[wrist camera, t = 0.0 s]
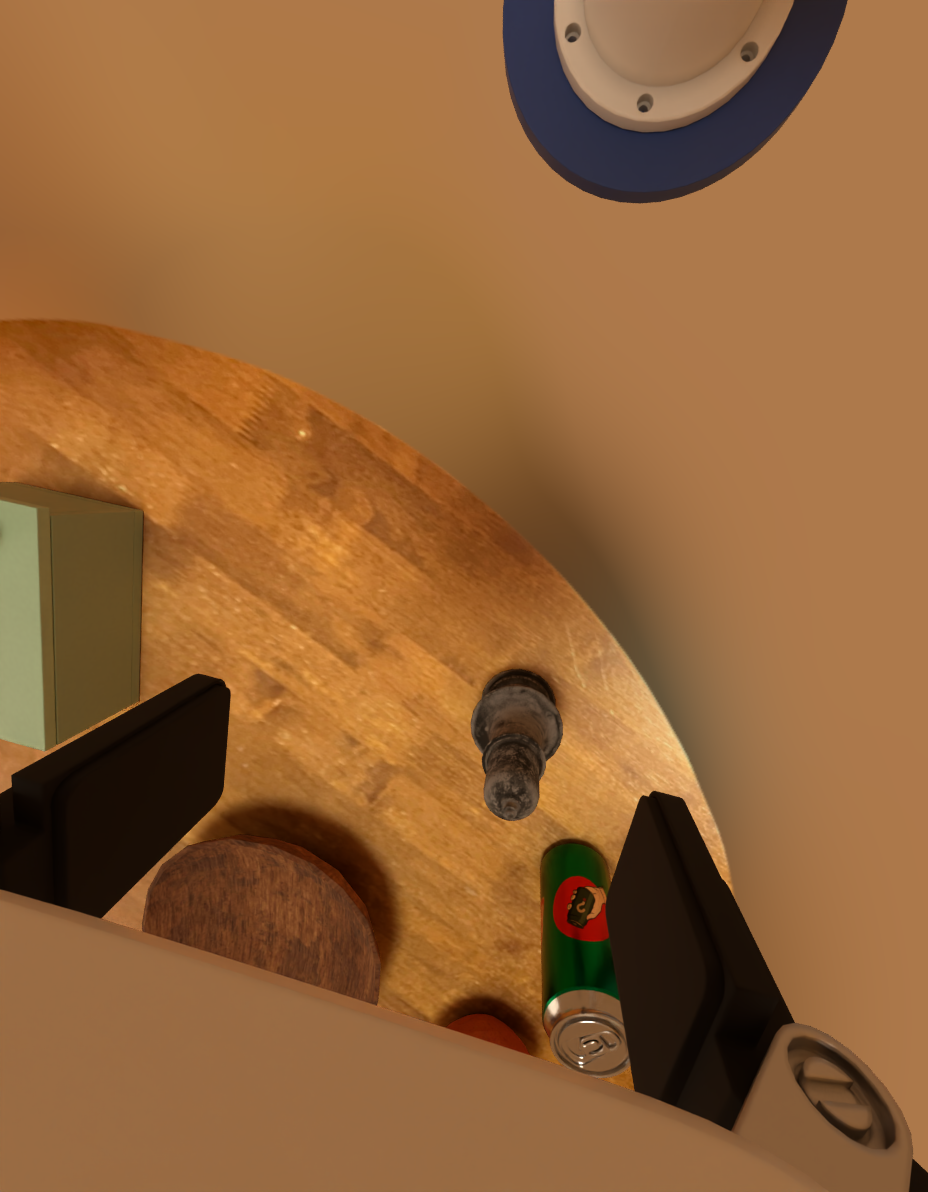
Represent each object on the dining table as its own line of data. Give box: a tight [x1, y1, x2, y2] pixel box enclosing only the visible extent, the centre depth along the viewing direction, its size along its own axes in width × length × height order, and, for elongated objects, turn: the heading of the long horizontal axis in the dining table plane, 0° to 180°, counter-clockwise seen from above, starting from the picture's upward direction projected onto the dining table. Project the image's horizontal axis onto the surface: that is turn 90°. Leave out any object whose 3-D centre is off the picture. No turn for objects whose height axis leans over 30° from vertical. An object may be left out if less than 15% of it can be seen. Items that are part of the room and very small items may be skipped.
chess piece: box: [471, 669, 563, 821], centre depth 28 cm, size 6×6×12 cm
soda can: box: [540, 843, 630, 1078], centre depth 30 cm, size 5×5×12 cm
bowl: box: [142, 834, 381, 1006], centre depth 38 cm, size 20×22×5 cm
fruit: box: [446, 1014, 530, 1055], centre depth 37 cm, size 9×9×8 cm
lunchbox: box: [0, 482, 143, 745], centre depth 33 cm, size 16×11×7 cm
